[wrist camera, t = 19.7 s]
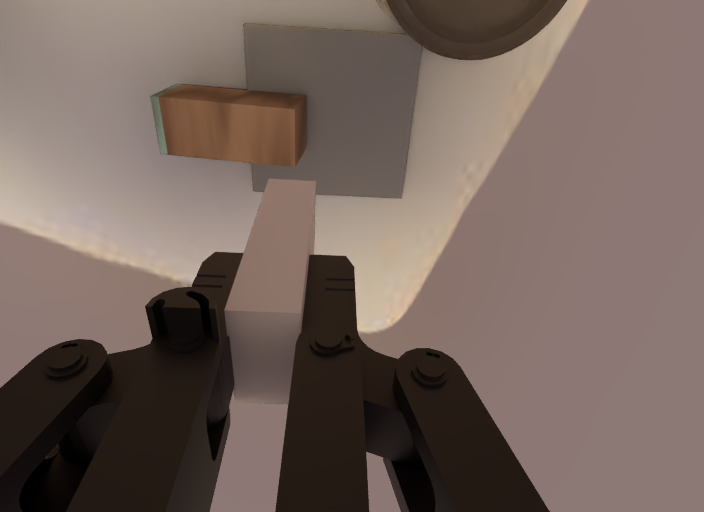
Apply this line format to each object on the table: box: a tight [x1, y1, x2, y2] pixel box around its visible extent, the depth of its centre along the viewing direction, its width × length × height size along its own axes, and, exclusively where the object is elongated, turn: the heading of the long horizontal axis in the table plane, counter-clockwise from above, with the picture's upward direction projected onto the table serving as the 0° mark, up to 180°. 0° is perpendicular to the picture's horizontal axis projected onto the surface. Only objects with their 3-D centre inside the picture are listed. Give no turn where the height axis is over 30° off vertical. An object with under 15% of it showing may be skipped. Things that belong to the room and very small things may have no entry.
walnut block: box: [151, 84, 306, 167], centre depth 37 cm, size 4×4×11 cm
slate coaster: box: [243, 23, 422, 199], centre depth 39 cm, size 14×14×1 cm
